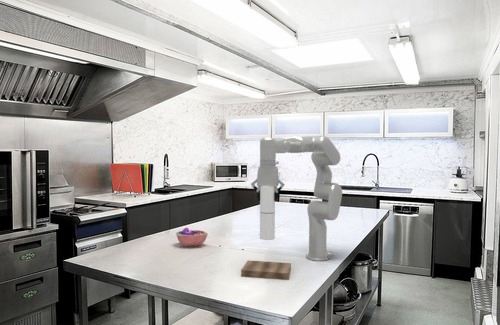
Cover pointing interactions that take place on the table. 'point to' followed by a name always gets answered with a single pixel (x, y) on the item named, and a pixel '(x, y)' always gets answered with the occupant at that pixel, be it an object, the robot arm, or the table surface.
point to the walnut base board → (266, 270)
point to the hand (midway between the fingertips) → (267, 200)
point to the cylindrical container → (267, 213)
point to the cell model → (191, 237)
